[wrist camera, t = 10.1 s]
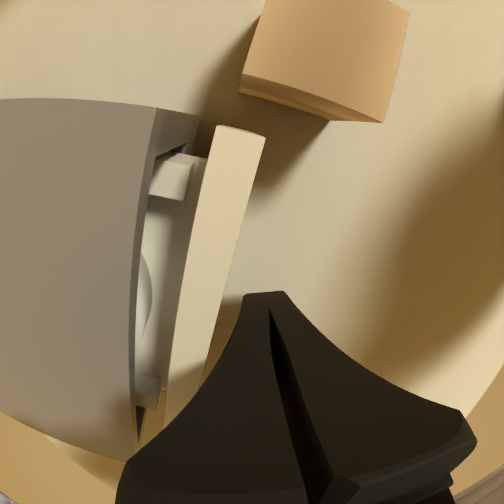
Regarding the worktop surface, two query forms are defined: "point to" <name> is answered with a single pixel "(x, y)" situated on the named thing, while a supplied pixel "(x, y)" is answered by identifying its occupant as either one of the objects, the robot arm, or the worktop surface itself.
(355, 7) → the block
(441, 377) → the worktop surface
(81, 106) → the grey boxy piece
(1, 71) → the worktop surface
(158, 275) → the tray
